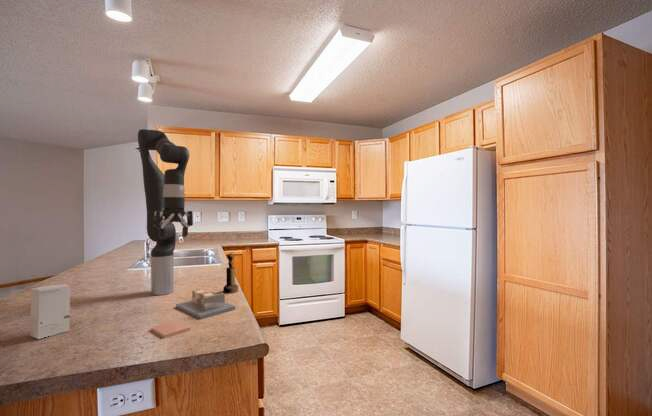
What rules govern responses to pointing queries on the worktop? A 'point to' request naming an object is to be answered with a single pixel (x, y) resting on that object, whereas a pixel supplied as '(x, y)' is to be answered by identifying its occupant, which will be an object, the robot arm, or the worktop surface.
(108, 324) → the worktop surface
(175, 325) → the tile
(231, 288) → the dark brown tall piece
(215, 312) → the board
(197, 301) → the beige rectangular block
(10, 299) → the worktop surface
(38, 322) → the skincare box
